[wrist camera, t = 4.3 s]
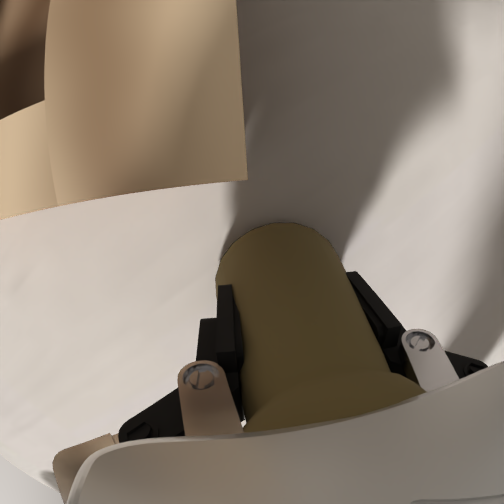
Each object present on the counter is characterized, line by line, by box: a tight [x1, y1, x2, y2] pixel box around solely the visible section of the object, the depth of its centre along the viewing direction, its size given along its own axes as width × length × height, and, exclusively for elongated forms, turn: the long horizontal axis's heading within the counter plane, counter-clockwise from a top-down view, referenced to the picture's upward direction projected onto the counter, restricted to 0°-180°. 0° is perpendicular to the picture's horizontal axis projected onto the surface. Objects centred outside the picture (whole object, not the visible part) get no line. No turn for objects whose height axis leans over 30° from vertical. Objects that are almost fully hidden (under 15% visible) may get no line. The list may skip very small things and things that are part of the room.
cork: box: [215, 223, 426, 433], centre depth 9 cm, size 6×6×11 cm
